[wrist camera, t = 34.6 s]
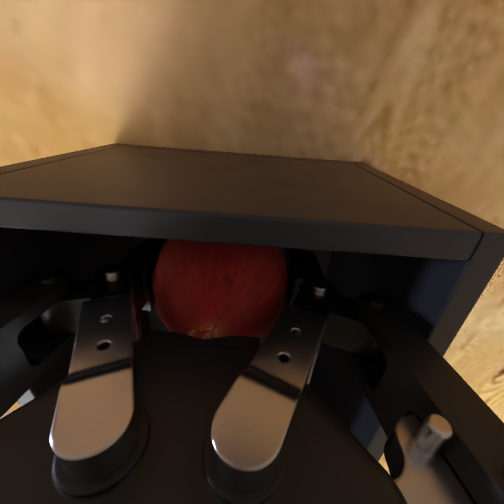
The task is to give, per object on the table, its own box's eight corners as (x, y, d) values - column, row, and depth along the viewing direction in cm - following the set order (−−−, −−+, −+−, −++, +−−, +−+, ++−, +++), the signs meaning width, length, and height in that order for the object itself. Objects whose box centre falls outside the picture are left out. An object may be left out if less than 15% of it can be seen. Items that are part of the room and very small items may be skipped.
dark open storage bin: (113, 143, 15) (-114, 189, 6) (362, 162, 15) (519, 235, 6) (150, 355, 23) (81, 508, 14) (309, 366, 24) (340, 524, 15)
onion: (303, 244, 15) (344, 366, 8) (233, 299, 17) (214, 436, 10) (228, 168, 13) (190, 236, 6) (159, 240, 15) (68, 358, 8)
